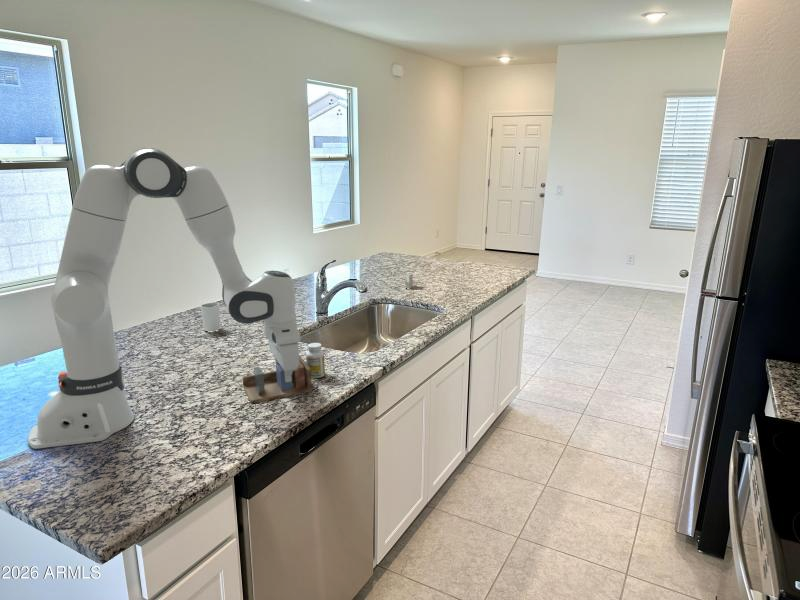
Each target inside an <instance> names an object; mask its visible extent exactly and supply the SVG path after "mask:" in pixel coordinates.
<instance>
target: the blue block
mask: <svg viewBox="0 0 800 600" xmlns="http://www.w3.org/2000/svg"><path fill="white" fill-rule="evenodd" d="M275 371H276V375H277V384H278V386H279V388H280V389H281V391H285V390H291V389H292V381H291V382H285V380H284V370H283V368H282V367H281V365H280V364H276V363H275Z"/></svg>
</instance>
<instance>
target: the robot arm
mask: <svg viewBox="0 0 800 600" xmlns="http://www.w3.org/2000/svg"><path fill="white" fill-rule="evenodd" d="M141 195H142V196H144V197H146V198H151V199H152V198H153V199H163V198H171V199H173V200H174V201H175V202H176V203H177V205H178V207H179V209H180V212H181V213H182V217H183V218H184V220H185V222H186V225H187V227H188V229H189V231H190V232H191V234H192V235H193V237H194V239H195V240H196V241H197V242H198V244H199V245H200V246H202V247H203V248H204V249H205V250H206V251H207V252H208V253H209V255H210V256H211V258H212V260H213V263H214V265H215V268H216V270H217V272H218V274H219V276H220V277H219V278H220V279H221V284H222V287H221V288H222V289H221V290H222V291H221V292H222V293H221V294H222V297H221V298H222V302H223V304H224V306H225V307H226V309H227V311H228V312H229V315H230V317H231V318H232V319H233V320H234V321H236V322H237V323H240V324H243V325H248V324H254V323H258V322H261V321H263V325H264V337H266V338H267V339H268V349H269V351H270V353H271V354H272V355H273V357H274V361H275V365H276V364H280V365H281V367H282V368H283V370H284V380H285V382H291V381H292V372H293V371H296V370H297V369H298V365H299V355H300V349H299V348H300V347H299V343H300V342H301V335H300V334H301V333H300V332H299V329H298V320H297V314H296V311H295V308H296V303H297V302H296V291H295V284H294V280H293V278H292V277H291V276H290V275H289V274H288V273H286V272H284V271H279V270H267V271H264V272H263V273H262V274H261V275H260V276H258V277H257V278H255V279H254V280H253V281H252V279H250V278H249V277H248V276H247V275H246V274H245V271H244V270H243V267H242V265H241V262H240V260H239V257H238V255H237V252H236V249H235V246H234V239H235V238H234V237H235V234H236V226H235V220H234V216H233V214H232V213H233V212H232V210H231V207H230V204H229V202H228V200H227V197H226V196H225V193H224V192H223V189H222V188H221V186H220V184H219V182H218V180H217V179H216V178H215V176H214V174H213V173H212V171H210V170H209V169H208V168H207V167H203V166H198V165H193V166H187V167H185V168H184V167H182V166H181V165H180V164H179V163H178V162H176V161H175V160H174V159H173V158H172V157H171V156H170V155H168V154H167V153H166V152H164V151H162V150H160V149H156V148H152V147H144V148H140V149H138V150H136V151H134V152H132V154H130V155H129V156H128V158H127V159H125V161H123V163H122V164H121V165H120V166H112V165H107V164H97V165H92V166H90V167H88V168H87V169H86V170H85V173H83V176H82V178H81V180H80V183H79V185H78V188H77V190H76V193H75V196H74V199H73V203H72V207H71V211H70V217H69V221H68V224H67V229H66V234H65V237H64V243H63V245H62V246H63V247H62V252H61V257H60V260H59V265H58V269H57V273H56V276H55V277H56V278H55V281H54V286H53V287H54V288H53V291H52V295H51V301H50V302H51V307H52V310H53V316H54V320H55V324H56V328H57V331H58V335H59V339H60V343H61V347H62V352H63V357H64V364H65V369H66V371H60V372H59V373H58V376H57V379H58V389H59V391H58V392H57V393H56V394H54V396H53V397H51V398H50V399H49V400H48V401H46V402H45V403H44V404H43V406H42V407H41V408H40V410H39V412H38V416H37V422H36V424H35V425H33V427H31V429H30V431H29V433H28V437H27V438H28V440H27V441H28V442H27V443H28V445H29V446H30V447H31V448H32V449H35V450H36V449H44V448H45V449H46V448H52V447H62V446H68V445H69V446H70V445H77V444H78V445H80V444H87V443H95V442H96V443H97V442H101V441H105V440H106V439H108V438H109V437H111V435H113V434H115V433H117V432H119V431H121V430H124V429H125V428H127V427H128V426H129V425H130V424H131V423H132V422H133V421H134V419H135V414H134V412H133V411H132V409H131V406H130V404H129V402H128V401H129V400H128V399H127V396H126V393H125V378H124V371H123V369H122V366H121V365H120V364H119V363H120V362H119V356H118V350H117V342H116V336H115V331H114V325H113V320H112V318H113V317H112V313H111V311H112V310H111V306H110V300H109V298H110V297H109V286H110V283H111V278H112V276H113V275H112V274H113V271H114V267H115V264H116V262H117V258H118V255H119V252H120V249H121V245H122V244H121V243H122V240H123V235H124V232H125V227H126V223H127V219H128V213H129V210H130V206H131V205H132V202H133V201H134V199H135V198H136V197H138V196H141Z"/></svg>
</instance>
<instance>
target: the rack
mask: <svg viewBox="0 0 800 600" xmlns="http://www.w3.org/2000/svg"><path fill="white" fill-rule="evenodd" d="M263 376H264V389H265V394H262V395H259V394H258V392H257V390H256V388H255V380H254V374H251V375H250V374H249V375H244V376H242V379H241V380H242V386H243V387H242V388H243V389H244V392H245V393H246V396H247V398H248V401H249V402H250V403H249V404H256V403H259V402H260V403H261V402H265V401H270V400H275V399H276V400H277V399H280V398H287V397H291V396H295V395H301V394H307V393H311V392H313V387H312V385H313V384H312V378H311V369H310V368H309V366H308V365H307V364H306V360H304V359H303V358H302V356H301V355H300V354H299V365H298V369H297V370H296V371H293V372H292V389H291V390H285V391H281V389H280V388H279V386H278V384H277V375H276V370H274V371H273V370H272V371H267V372H263Z"/></svg>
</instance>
